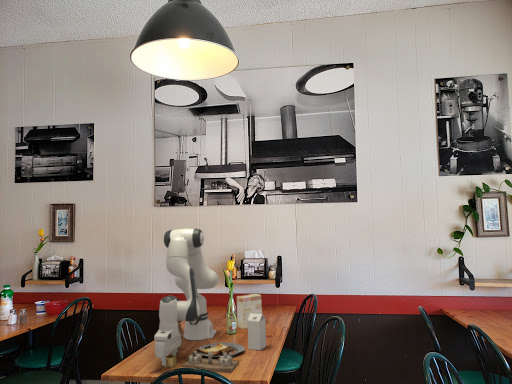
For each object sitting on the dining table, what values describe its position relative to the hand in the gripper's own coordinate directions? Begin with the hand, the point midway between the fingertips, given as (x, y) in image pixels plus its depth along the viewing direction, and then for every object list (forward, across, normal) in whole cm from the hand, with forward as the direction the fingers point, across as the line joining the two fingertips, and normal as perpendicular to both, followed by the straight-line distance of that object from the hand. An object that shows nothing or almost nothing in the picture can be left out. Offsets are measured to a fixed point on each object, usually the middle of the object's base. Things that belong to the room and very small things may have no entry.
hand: (169, 361), depth 200 cm
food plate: (+2, -23, +17) cm, 29 cm away
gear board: (+2, -2, +20) cm, 20 cm away
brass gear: (+2, 0, 0) cm, 2 cm away
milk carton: (+2, -34, +34) cm, 48 cm away
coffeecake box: (+2, -79, +17) cm, 81 cm away
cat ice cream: (+2, -13, -3) cm, 13 cm away
